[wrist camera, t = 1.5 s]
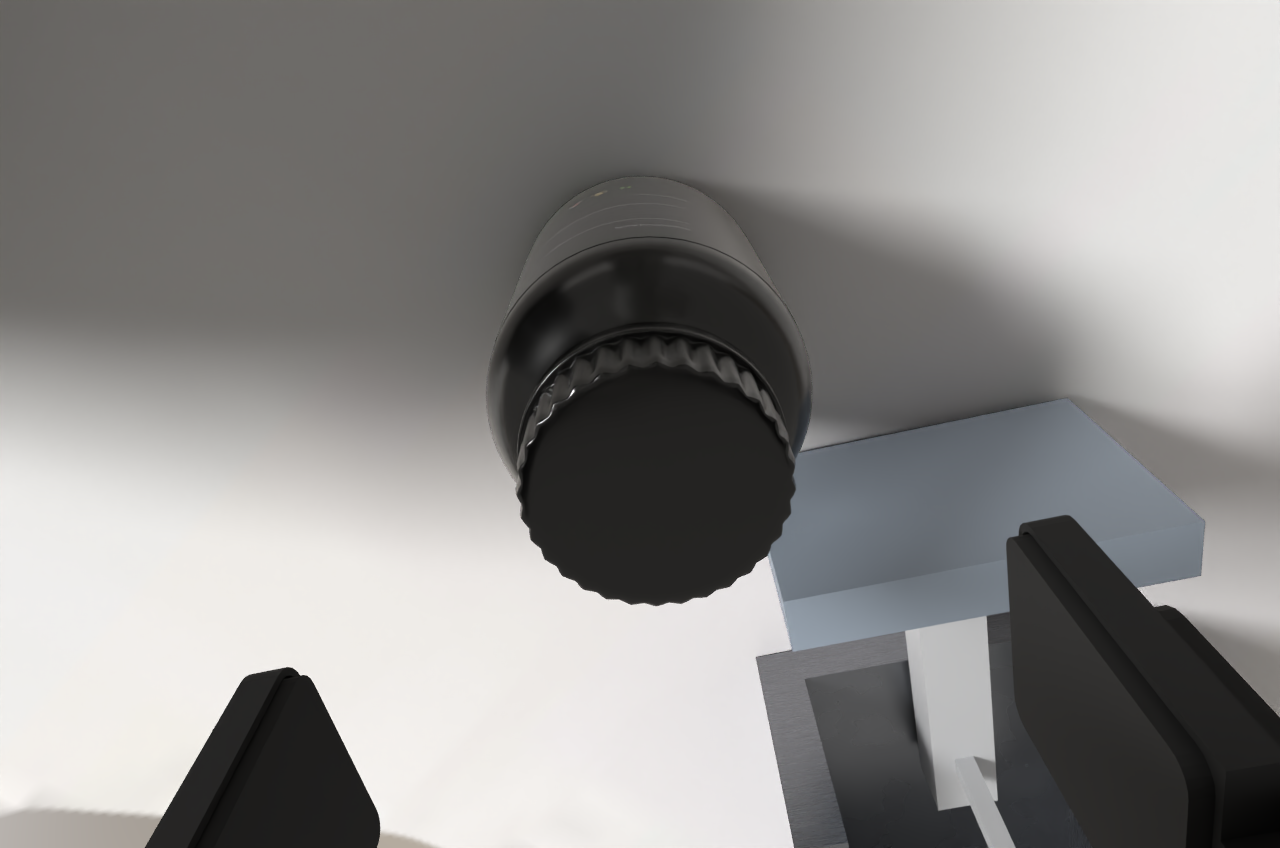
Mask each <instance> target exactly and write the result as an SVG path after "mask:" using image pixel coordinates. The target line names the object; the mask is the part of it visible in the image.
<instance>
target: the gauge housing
mask: <svg viewBox="0 0 1280 848" xmlns="http://www.w3.org/2000/svg"><path fill="white" fill-rule="evenodd" d="M986 617H987V633H988V649H989V666H990V682H991V698H992V715H993V731H994V747H995V764H996V780H997V797H998V801H994V802H995V804H996V806H997V809H998V811H999V813H1000V815H1001V817H1002V819H1003V822H1004V824H1005V826H1006V828H1007V830H1008V832H1009V834H1010V837H1011V839H1012V841H1013V843H1014V845H1015V847H1016V848H1092V846H1091V844H1090V843H1089V841H1088V839H1087V837H1086V836H1085V834H1084V832H1083V830H1082V828H1081V827H1080V825H1079V823H1078V821H1077V820H1076V818H1075V816H1074V814H1073V813H1072V811H1071V809H1070V807H1069V805H1068V804H1067V802H1066V800H1065V798H1064V797H1063V795H1062V793H1061V791H1060V790H1059V788H1058V786H1057V784H1056V782H1055V781H1054V779H1053V777H1052V775H1051V774H1050V772H1049V770H1048V768H1047V767H1046V765H1045V763H1044V761H1043V760H1042V758H1041V756H1040V754H1039V752H1038V751H1037V749H1036V747H1035V745H1034V744H1033V742H1032V740H1031V738H1030V737H1029V735H1028V733H1027V731H1026V729H1025V728H1024V726H1023V724H1022V722H1021V719H1020V716H1019V714H1018V710H1017V707H1016V703H1015V696H1014V680H1013V663H1012V645H1011V627H1010V611H1009V612H1004V613H999V614H993V615H988V616H986ZM756 660H757V665H758V670H759V675H760V680H761V685H762V690H763V695H764V700H765V705H766V710H767V715H768V720H769V725H770V730H771V735H772V740H773V745H774V750H775V755H776V759H777V764H778V769H779V774H780V779H781V784H782V789H783V794H784V799H785V804H786V809H787V814H788V819H789V824H790V829H791V834H792V839H793V844H794V848H988V845H987V843H986V841H985V838H984V836H983V834H982V831H981V829H980V827H979V824H978V822H977V820H976V817H975V815H974V813H973V810H972V808H971V806H970V805H969V806H963V807H957V808H951V809H945V810H939V811H938V808H937V806H936V803H935V800H934V798H933V795H932V793H931V790H930V788H929V785H928V782H927V780H926V777H925V775H924V772H923V770H922V767H921V764H920V757H919V748H918V739H917V730H916V722H915V713H914V704H913V696H912V687H911V678H910V669H909V661H908V652H907V643H906V634H905V631H902V632H897V633H891V634H886V635H881V636H875V637H870V638H865V639H859V640H854V641H848V642H843V643H838V644H832V645H827V646H822V647H816V648H811V649H806V650H800V651H795V652H793V651H787V652H782V653H776V654H771V655H766V656H760V657H756Z"/></svg>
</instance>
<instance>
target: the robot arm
mask: <svg viewBox="0 0 1280 848" xmlns="http://www.w3.org/2000/svg"><path fill="white" fill-rule="evenodd" d="M1006 555H1007V573H1008V591H1009V609H1010V627H1011V645H1012V663H1013V680H1014V696H1015V703H1016V707H1017V710H1018V714H1019V716H1020V719H1021V722H1022V724H1023V726H1024V728H1025V729H1026V731H1027V733H1028V735H1029V737H1030V738H1031V740H1032V742H1033V744H1034V745H1035V747H1036V749H1037V751H1038V752H1039V754H1040V756H1041V758H1042V760H1043V761H1044V763H1045V765H1046V767H1047V768H1048V770H1049V772H1050V774H1051V775H1052V777H1053V779H1054V781H1055V782H1056V784H1057V786H1058V788H1059V790H1060V791H1061V793H1062V795H1063V797H1064V798H1065V800H1066V802H1067V804H1068V805H1069V807H1070V809H1071V811H1072V813H1073V814H1074V816H1075V818H1076V820H1077V821H1078V823H1079V825H1080V827H1081V828H1082V830H1083V832H1084V834H1085V836H1086V837H1087V839H1088V841H1089V843H1090V844H1091V846H1092V848H1280V717H1279V716H1278V715H1277V714H1276V713H1275V712H1274V711H1273V710H1272V709H1271V708H1270V707H1269V706H1268V705H1267V704H1266V703H1265V701H1264V700H1263V699H1262V698H1261V697H1260V696H1259V695H1258V694H1257V693H1256V692H1255V691H1254V690H1253V689H1252V688H1251V687H1250V685H1249V684H1248V683H1247V682H1246V681H1245V680H1244V679H1243V678H1242V677H1241V676H1240V675H1239V674H1238V673H1237V672H1236V671H1235V670H1234V668H1233V667H1232V666H1231V665H1230V664H1229V663H1228V662H1227V661H1226V660H1225V659H1224V658H1223V657H1222V656H1221V655H1220V654H1219V653H1218V651H1217V650H1216V649H1215V648H1214V647H1213V646H1212V645H1211V644H1210V643H1209V642H1208V641H1207V640H1206V639H1205V638H1204V637H1203V635H1202V634H1201V633H1200V632H1199V631H1198V630H1197V629H1196V628H1195V627H1194V626H1193V625H1192V624H1191V623H1190V622H1189V621H1188V620H1187V618H1186V617H1185V616H1183V615H1182V614H1181V613H1180V612H1179V611H1177V610H1176V609H1175V608H1173V607H1170V606H1167V605H1164V606H1159V607H1153V606H1152V604H1151V603H1150V602H1149V601H1148V600H1147V599H1146V598H1145V597H1144V596H1143V594H1142V593H1141V592H1140V591H1139V590H1138V589H1137V588H1136V587H1135V586H1134V585H1133V583H1132V582H1131V581H1130V580H1129V579H1128V578H1127V577H1126V576H1125V575H1124V573H1123V572H1122V571H1121V570H1120V569H1119V568H1118V567H1117V566H1116V565H1115V563H1114V562H1113V561H1112V560H1111V559H1110V558H1109V557H1108V556H1107V555H1106V553H1105V552H1104V551H1103V550H1102V549H1101V548H1100V547H1099V546H1098V545H1097V544H1096V542H1095V541H1094V540H1093V539H1092V538H1091V537H1090V536H1089V535H1088V534H1087V532H1086V531H1085V530H1084V529H1083V528H1082V527H1081V526H1080V525H1079V524H1078V522H1077V521H1076V520H1075V519H1074V518H1072V517H1071V516H1070V515H1061V516H1056V517H1051V518H1046V519H1041V520H1036V521H1031V522H1026V523H1022V524H1021V525H1020V528H1019V536H1014V537H1009V538H1008V539H1007V542H1006ZM379 837H380V820H379V815H378V812H377V810H376V808H375V806H374V804H373V802H372V800H371V798H370V796H369V794H368V792H367V790H366V788H365V786H364V784H363V782H362V780H361V778H360V776H359V774H358V772H357V770H356V768H355V766H354V764H353V761H352V759H351V757H350V755H349V753H348V751H347V749H346V747H345V745H344V743H343V741H342V739H341V737H340V735H339V733H338V731H337V729H336V727H335V725H334V723H333V721H332V719H331V717H330V715H329V713H328V711H327V709H326V707H325V705H324V703H323V701H322V699H321V697H320V695H319V693H318V691H317V689H316V687H315V685H314V683H313V682H312V680H311V679H310V678H309V677H308V676H305V675H302V676H300V675H299V673H298V672H297V671H296V670H295V669H293V668H289V667H286V668H281V669H276V670H271V671H266V672H261V673H256V674H251V675H248V676H246V677H245V678H244V679H243V680H242V682H241V683H240V685H239V686H238V688H237V690H236V692H235V693H234V695H233V697H232V698H231V700H230V702H229V704H228V705H227V707H226V709H225V710H224V712H223V714H222V716H221V717H220V719H219V721H218V723H217V724H216V726H215V728H214V729H213V731H212V733H211V735H210V736H209V738H208V740H207V741H206V743H205V745H204V747H203V748H202V750H201V752H200V754H199V755H198V757H197V759H196V760H195V762H194V764H193V766H192V767H191V769H190V771H189V772H188V774H187V776H186V778H185V779H184V781H183V783H182V785H181V786H180V788H179V790H178V791H177V793H176V795H175V797H174V798H173V800H172V802H171V804H170V805H169V807H168V809H167V810H166V812H165V814H164V816H163V817H162V819H161V821H160V823H159V824H158V826H157V828H156V829H155V831H154V833H153V835H152V836H151V838H150V840H149V842H148V843H147V845H146V847H145V848H377V845H378V842H379Z"/></svg>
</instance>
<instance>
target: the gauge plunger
mask: <svg viewBox="0 0 1280 848" xmlns="http://www.w3.org/2000/svg"><path fill="white" fill-rule="evenodd" d="M795 462H796V463H795V470H794V474H793V477H794V480H795V483H796V491H795V493H794V496H793V497H792V498H791V500H790V502H791V514H790V516H789V517H788V519H787V520H785V522H784V523H783V531H782V536H781V537H780V538H779V539H777V540H776V541H775V542H774V543H773V544H772V545H771V548H770V551H769V554H768V559H769V563H770V566H771V570H772V574H773V578H774V582H775V586H776V589H777V593H778V597H779V601H780V605H781V609H782V613H783V616H784V620H785V624H786V628H787V632H788V636H789V639H790V643H791V647H792V651H793V652H795V651H800V650H806V649H811V648H816V647H822V646H827V645H832V644H838V643H843V642H848V641H854V640H859V639H865V638H870V637H875V636H881V635H886V634H891V633H897V632H902V631H905V634H906V643H907V652H908V661H909V669H910V678H911V687H912V696H913V704H914V713H915V722H916V730H917V739H918V748H919V757H920V764H921V767H922V770H923V772H924V775H925V777H926V780H927V782H928V785H929V788H930V790H931V793H932V795H933V798H934V800H935V803H936V806H937V808H938V811H939V810H945V809H951V808H957V807H963V806H969V805H970V806H971V808H972V810H973V813H974V815H975V817H976V820H977V822H978V824H979V827H980V829H981V831H982V834H983V836H984V838H985V841H986V843H987V845H988V848H1016V847H1015V845H1014V843H1013V841H1012V839H1011V837H1010V834H1009V832H1008V830H1007V828H1006V826H1005V824H1004V822H1003V819H1002V817H1001V815H1000V813H999V811H998V809H997V806H996V804H995V802H994V801H998V797H997V780H996V764H995V747H994V731H993V715H992V698H991V682H990V666H989V649H988V633H987V617H986V616H988V615H993V614H999V613H1004V612H1009V611H1010V609H1009V591H1008V573H1007V555H1006V542H1007V539H1008V538H1009V537H1014V536H1019V528H1020V525H1021V524H1022V523H1026V522H1031V521H1036V520H1041V519H1046V518H1051V517H1056V516H1061V515H1070V516H1071V517H1072V518H1074V519H1075V520H1076V521H1077V522H1078V524H1079V525H1080V526H1081V527H1082V528H1083V529H1084V530H1085V531H1086V532H1087V534H1088V535H1089V536H1090V537H1091V538H1092V539H1093V540H1094V541H1095V542H1096V544H1097V545H1098V546H1099V547H1100V548H1101V549H1102V550H1103V551H1104V552H1105V553H1106V555H1107V556H1108V557H1109V558H1110V559H1111V560H1112V561H1113V562H1114V563H1115V565H1116V566H1117V567H1118V568H1119V569H1120V570H1121V571H1122V572H1123V573H1124V575H1125V576H1126V577H1127V578H1128V579H1129V580H1130V581H1131V582H1132V583H1133V585H1134V586H1135V587H1136V588H1138V587H1144V586H1149V585H1154V584H1160V583H1165V582H1170V581H1176V580H1181V579H1187V578H1192V577H1197V576H1201V569H1202V556H1203V542H1204V529H1205V521H1204V520H1203V519H1202V518H1201V517H1200V516H1199V515H1197V514H1196V513H1195V512H1194V511H1193V510H1192V509H1191V508H1190V507H1189V506H1187V505H1186V504H1185V503H1184V502H1183V501H1182V500H1181V499H1180V498H1179V497H1177V496H1176V495H1175V494H1174V493H1173V492H1172V491H1171V490H1170V489H1168V488H1167V487H1166V486H1165V485H1164V484H1163V483H1162V482H1161V481H1160V480H1158V479H1157V478H1156V477H1155V476H1154V475H1153V474H1152V473H1151V472H1150V471H1148V470H1147V469H1146V468H1145V467H1144V466H1143V465H1142V464H1141V463H1140V462H1138V461H1137V460H1136V459H1135V458H1134V457H1133V456H1132V455H1131V454H1129V453H1128V452H1127V451H1126V450H1125V449H1124V448H1123V447H1122V446H1121V445H1119V444H1118V443H1117V442H1116V441H1115V440H1114V439H1113V438H1112V437H1111V436H1109V435H1108V434H1107V433H1106V432H1105V431H1104V430H1103V429H1102V428H1101V427H1099V426H1098V425H1097V424H1096V423H1095V422H1094V421H1093V420H1092V419H1090V418H1089V417H1088V416H1087V415H1086V414H1085V413H1084V412H1083V411H1082V410H1080V409H1079V408H1078V407H1077V406H1076V405H1075V404H1074V403H1073V402H1072V401H1070V400H1069V399H1068V398H1064V399H1059V400H1054V401H1050V402H1045V403H1040V404H1035V405H1030V406H1025V407H1020V408H1016V409H1011V410H1006V411H1001V412H996V413H991V414H986V415H981V416H977V417H972V418H967V419H962V420H957V421H952V422H947V423H942V424H938V425H933V426H928V427H923V428H918V429H913V430H908V431H903V432H899V433H894V434H889V435H884V436H879V437H874V438H869V439H864V440H860V441H855V442H850V443H845V444H840V445H835V446H830V447H825V448H821V449H816V450H811V451H806V452H801V453H798V455H797V458H796V460H795Z"/></svg>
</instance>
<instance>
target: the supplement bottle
mask: <svg viewBox="0 0 1280 848" xmlns="http://www.w3.org/2000/svg"><path fill="white" fill-rule="evenodd" d="M812 389H813V387H812V374H811V368H810V363H809V358H808V355H807V351H806V348H805V345H804V342H803V339H802V336H801V334H800V332H799V329H798V327H797V325H796V322H795V320H794V319H793V317H792V315H791V313H790V311H789V310H788V308H787V306H786V304H785V303H784V301H783V299H782V297H781V296H780V294H779V292H778V290H777V289H776V287H775V285H774V284H773V282H772V280H771V278H770V277H769V275H768V273H767V271H766V270H765V268H764V266H763V265H762V263H761V261H760V259H759V258H758V256H757V254H756V252H755V251H754V249H753V247H752V246H751V244H750V242H749V240H748V239H747V237H746V236H745V234H744V233H743V231H742V230H741V228H740V227H739V226H738V224H737V223H736V221H735V220H734V219H733V218H732V217H731V216H730V215H729V213H728V212H727V211H725V210H724V209H723V208H722V207H721V206H720V205H719V204H718V203H716V202H715V201H714V200H712V199H711V198H710V197H709V196H707V195H705V194H704V193H702V192H700V191H699V190H697V189H695V188H692V187H690V186H688V185H686V184H683V183H680V182H677V181H674V180H670V179H665V178H659V177H650V176H634V177H624V178H618V179H614V180H610V181H606V182H603V183H601V184H598V185H595V186H593V187H591V188H589V189H587V190H585V191H583V192H581V193H580V194H578V195H577V196H575V197H573V198H572V199H571V200H569V201H568V202H567V203H566V204H564V205H563V206H562V207H561V208H560V209H559V210H558V211H557V212H556V213H555V214H554V215H553V216H552V217H551V218H550V220H549V221H548V222H547V223H546V224H545V226H544V227H543V229H542V230H541V232H540V233H539V235H538V237H537V239H536V241H535V242H534V244H533V246H532V249H531V250H530V253H529V255H528V258H527V260H526V262H525V265H524V268H523V270H522V273H521V275H520V278H519V281H518V283H517V286H516V288H515V291H514V294H513V296H512V299H511V302H510V304H509V307H508V309H507V312H506V315H505V317H504V320H503V322H502V325H501V328H500V330H499V333H498V336H497V338H496V341H495V345H494V348H493V352H492V356H491V359H490V365H489V370H488V376H487V387H486V404H487V414H488V421H489V425H490V429H491V433H492V437H493V440H494V443H495V445H496V448H497V451H498V453H499V455H500V457H501V459H502V461H503V463H504V465H505V467H506V468H507V470H508V472H509V473H510V475H511V476H512V478H513V479H514V481H515V482H516V483H517V484H516V495H517V497H518V499H519V501H520V502H521V509H520V516H521V519H522V520H523V521H524V523H525V524H526V525H527V526H528V527H529V533H530V539H531V541H533V542H534V543H535V544H536V545H537V546H538V547H540V548H541V550H542V554H543V556H544V559H545V560H547V561H548V562H550V563H551V564H553V565H555V566H557V568H558V569H559V572H560V573H561V575H562V576H564V577H566V578H568V579H571V580H574V581H576V582H577V583H578V585H579V586H580V587H581V588H582V589H584V590H588V591H594V592H597V593H599V594H600V595H601V596H602V597H604V598H605V599H620V600H622V601H624V602H626V603H628V604H631V605H633V604H640V603H647V604H650V605H653V606H659V605H663V604H666V603H669V602H670V603H679V604H682V603H685V602H687V601H689V600H691V599H692V598H703V597H708V596H709V595H710V594H712V593H713V592H714V591H716V590H718V589H723V588H727V587H730V586H731V585H732V584H733V583H734V582H735V581H736V579H737V578H739V577H741V576H744V575H746V574H749V573H750V572H751V571H752V569H753V568H754V566H755V564H756V563H757V562H758V561H760V560H762V559H763V558H765V557H766V556H768V554H769V551H770V548H771V545H772V544H773V543H774V542H775V541H776V540H777V539H779V538H780V537H781V536H782V531H783V523H784V522H785V520H787V519H788V517H789V516H790V514H791V502H790V500H791V498H792V497H793V496H794V493H795V491H796V483H795V480H794V477H793V474H794V470H795V463H796V462H795V460H796V458H797V455H798V453H799V451H800V449H801V447H802V444H803V441H804V439H805V436H806V433H807V429H808V425H809V421H810V415H811V407H812Z"/></svg>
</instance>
